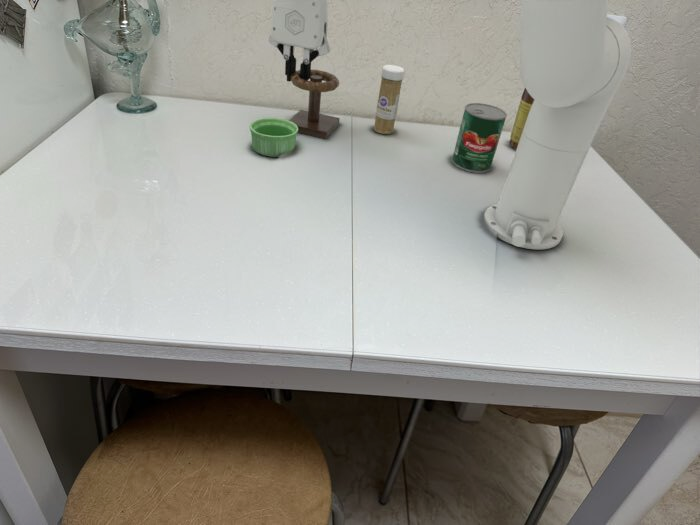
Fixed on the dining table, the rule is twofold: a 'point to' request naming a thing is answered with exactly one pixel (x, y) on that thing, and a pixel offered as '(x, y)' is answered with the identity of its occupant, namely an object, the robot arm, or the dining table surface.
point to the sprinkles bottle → (388, 98)
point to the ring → (316, 86)
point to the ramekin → (273, 136)
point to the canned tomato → (478, 137)
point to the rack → (315, 116)
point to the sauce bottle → (521, 118)
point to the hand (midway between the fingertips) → (297, 80)
